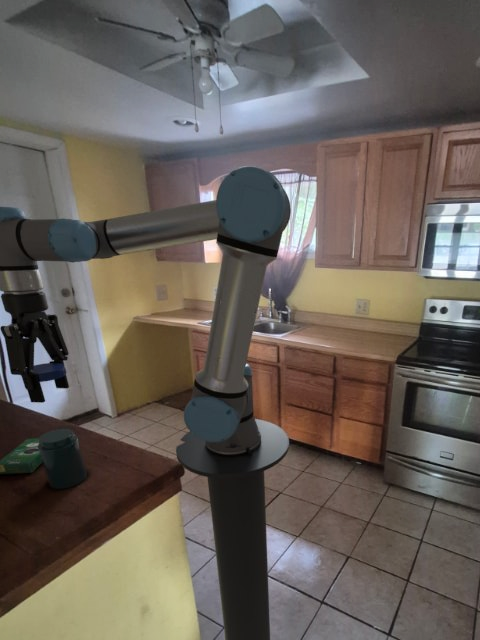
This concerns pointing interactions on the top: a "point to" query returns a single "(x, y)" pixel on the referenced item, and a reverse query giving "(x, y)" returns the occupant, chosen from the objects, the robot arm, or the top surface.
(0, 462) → the coffee box
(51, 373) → the jar lid
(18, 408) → the top surface
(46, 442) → the jar
